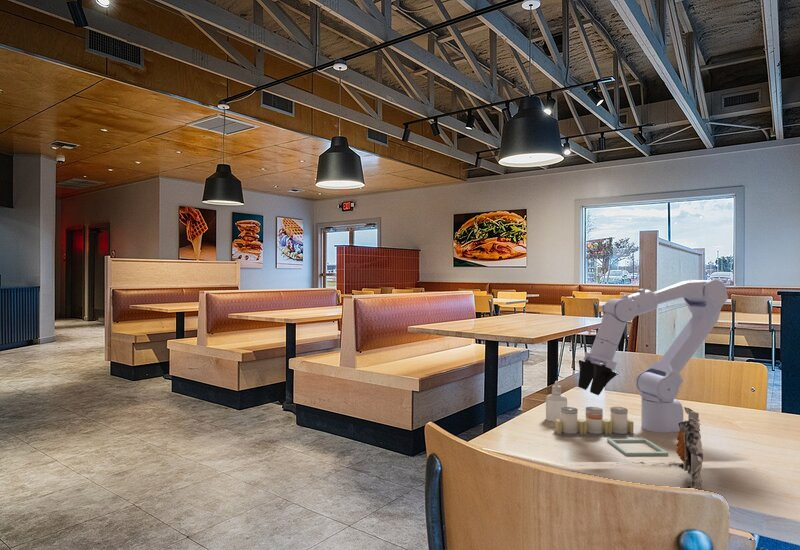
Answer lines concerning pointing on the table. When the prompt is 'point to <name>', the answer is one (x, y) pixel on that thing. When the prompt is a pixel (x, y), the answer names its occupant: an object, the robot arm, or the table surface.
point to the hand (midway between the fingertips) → (587, 391)
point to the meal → (690, 447)
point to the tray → (659, 453)
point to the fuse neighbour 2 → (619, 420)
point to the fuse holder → (583, 433)
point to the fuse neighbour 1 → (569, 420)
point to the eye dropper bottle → (555, 403)
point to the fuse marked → (594, 420)
